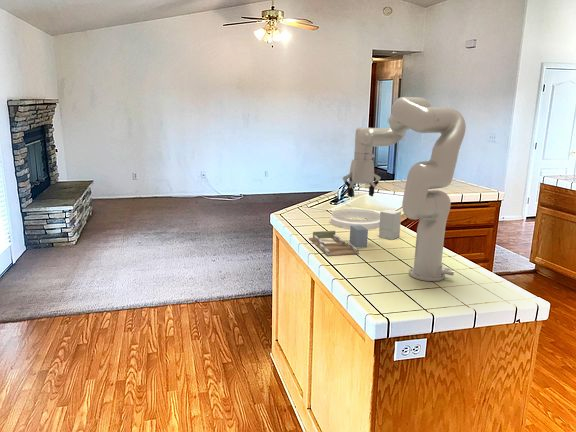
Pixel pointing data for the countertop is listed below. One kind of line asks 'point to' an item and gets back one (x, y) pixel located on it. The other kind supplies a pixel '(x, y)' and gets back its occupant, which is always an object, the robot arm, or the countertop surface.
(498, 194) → the countertop surface
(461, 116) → the robot arm
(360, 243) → the slider block
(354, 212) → the plate
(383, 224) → the supplement box
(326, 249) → the track
